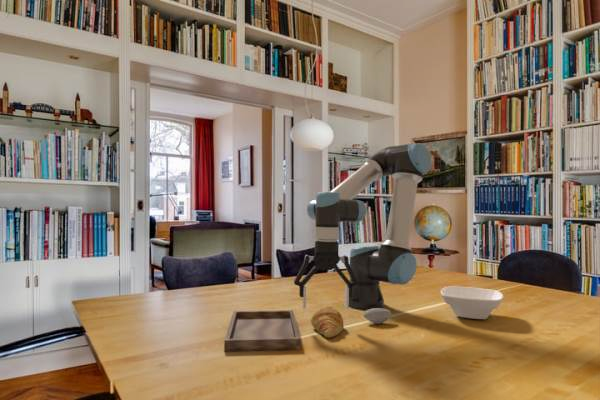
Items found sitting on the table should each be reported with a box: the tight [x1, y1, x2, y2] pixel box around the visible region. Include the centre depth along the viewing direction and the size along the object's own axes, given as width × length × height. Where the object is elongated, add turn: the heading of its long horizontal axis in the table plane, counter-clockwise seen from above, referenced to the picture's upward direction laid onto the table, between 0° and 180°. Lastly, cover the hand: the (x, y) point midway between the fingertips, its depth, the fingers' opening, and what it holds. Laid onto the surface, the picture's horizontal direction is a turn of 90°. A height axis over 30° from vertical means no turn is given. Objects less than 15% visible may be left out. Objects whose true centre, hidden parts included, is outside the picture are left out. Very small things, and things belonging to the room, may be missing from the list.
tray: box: [223, 309, 302, 353], centre depth 120 cm, size 20×29×3 cm
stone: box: [362, 307, 392, 325], centre depth 132 cm, size 10×5×5 cm, turn 100°
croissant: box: [310, 306, 344, 339], centre depth 125 cm, size 21×10×8 cm, turn 0°
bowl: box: [440, 285, 504, 320], centre depth 141 cm, size 21×21×9 cm
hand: (325, 307), depth 125 cm, fingers open, 13 cm apart
